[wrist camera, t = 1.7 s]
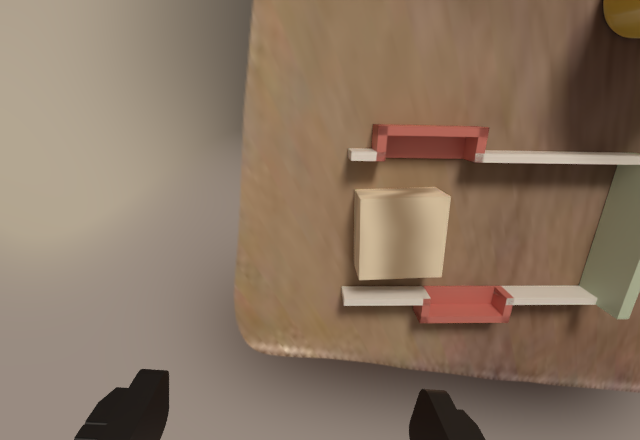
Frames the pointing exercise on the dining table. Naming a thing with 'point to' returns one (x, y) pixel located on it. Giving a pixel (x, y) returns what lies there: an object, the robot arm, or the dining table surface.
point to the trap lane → (496, 301)
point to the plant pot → (623, 17)
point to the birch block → (400, 232)
